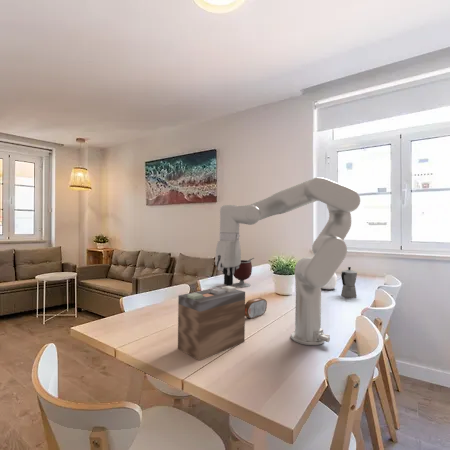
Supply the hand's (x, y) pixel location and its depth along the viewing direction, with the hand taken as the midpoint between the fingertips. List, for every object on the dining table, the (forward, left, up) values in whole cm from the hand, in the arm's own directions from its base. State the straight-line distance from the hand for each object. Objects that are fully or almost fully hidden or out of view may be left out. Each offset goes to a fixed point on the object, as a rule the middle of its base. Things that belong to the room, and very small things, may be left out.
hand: (228, 284), depth 113 cm
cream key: (0, 0, -3) cm, 3 cm away
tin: (+10, -29, -21) cm, 37 cm away
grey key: (0, +5, -3) cm, 6 cm away
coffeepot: (-4, -101, -21) cm, 103 cm away
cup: (+15, -111, -21) cm, 114 cm away
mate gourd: (+59, -74, -21) cm, 97 cm away
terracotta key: (0, +11, -5) cm, 12 cm away
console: (0, +8, -21) cm, 22 cm away
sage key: (0, +16, -3) cm, 17 cm away
